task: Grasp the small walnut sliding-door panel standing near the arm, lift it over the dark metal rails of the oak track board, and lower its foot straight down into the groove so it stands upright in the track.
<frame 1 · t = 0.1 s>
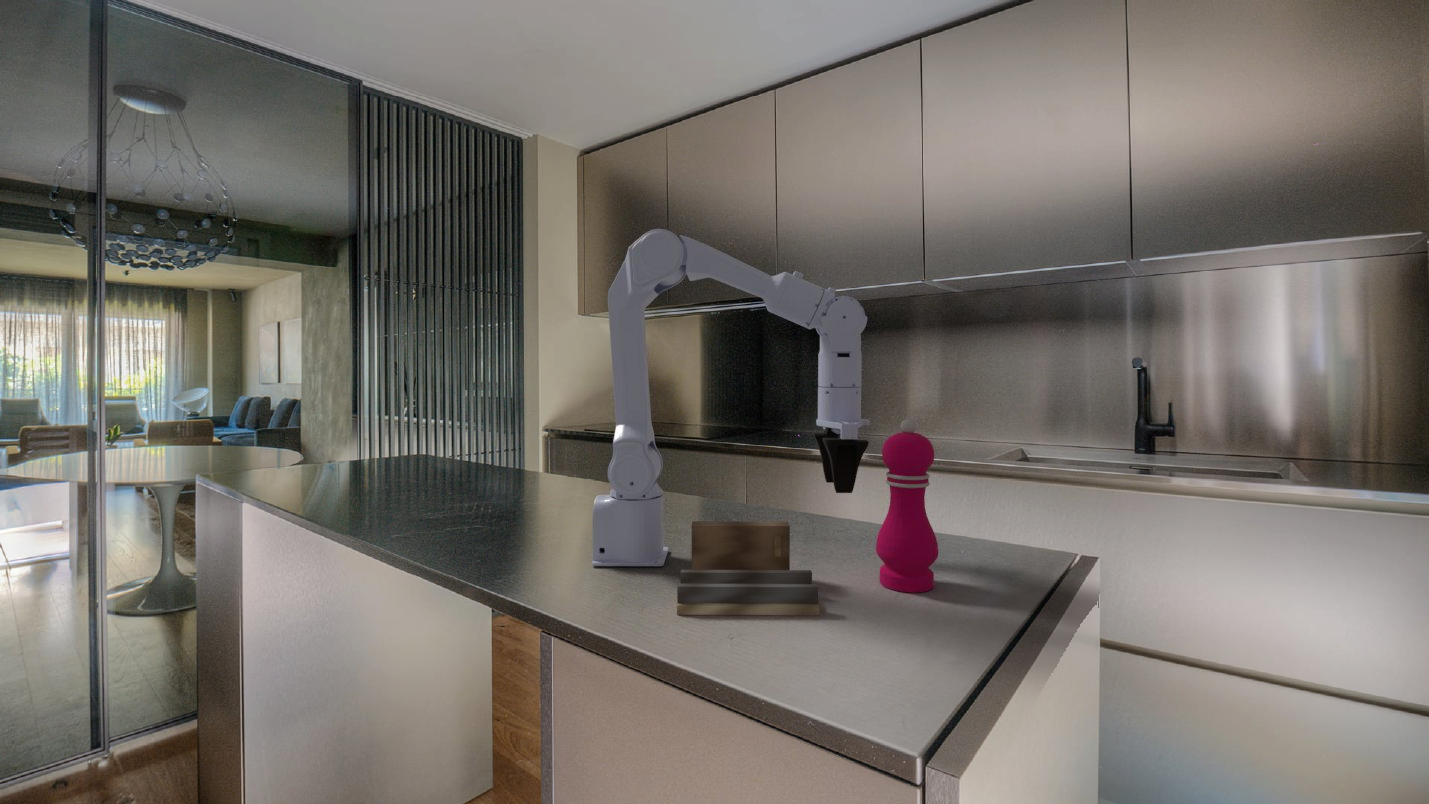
hand: (838, 487, 86), 10 cm above the counter, tool pointing down, fingers open, 7 cm apart
door panel: (740, 579, 79), on the counter
track board: (746, 602, 70), on the counter
pepper mill: (906, 585, 76), on the counter
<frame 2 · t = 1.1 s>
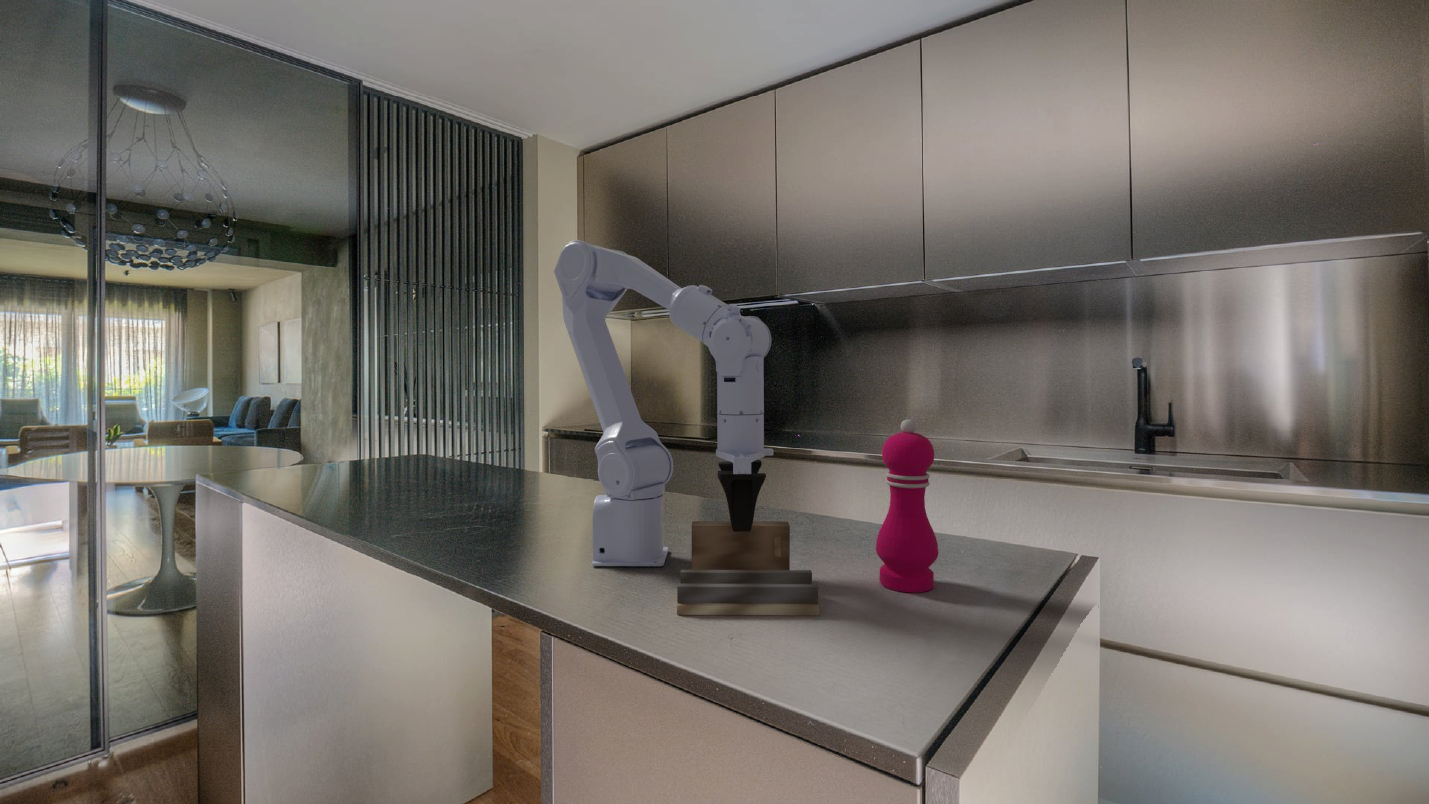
hand: (740, 523, 78), 7 cm above the counter, tool pointing down, fingers open, 7 cm apart
nothing on the counter moved.
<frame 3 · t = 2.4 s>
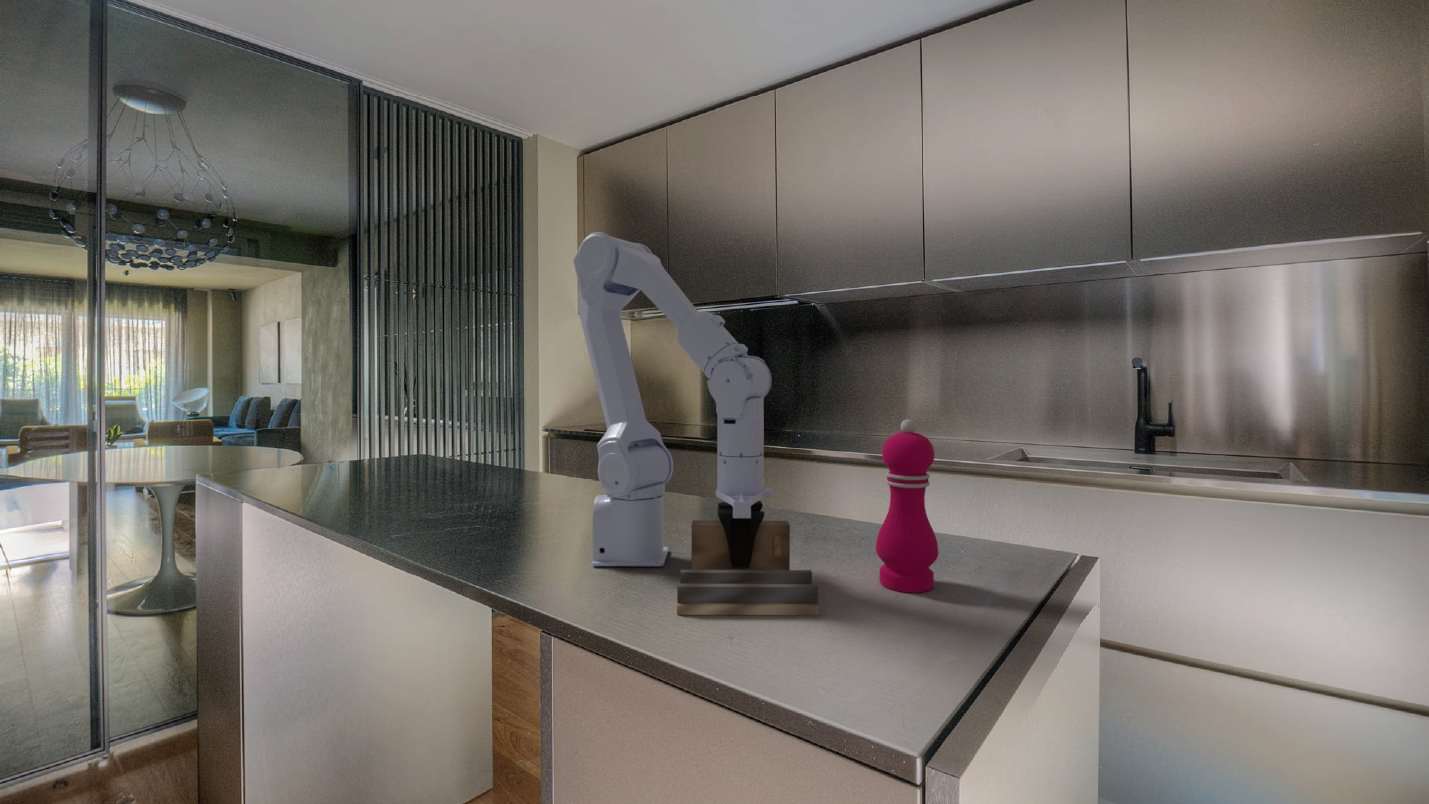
hand: (740, 563, 79), 2 cm above the counter, tool pointing down, fingers closed on door panel, 2 cm apart
door panel: (740, 578, 79), on the counter, touching gripper
everything else where it was.
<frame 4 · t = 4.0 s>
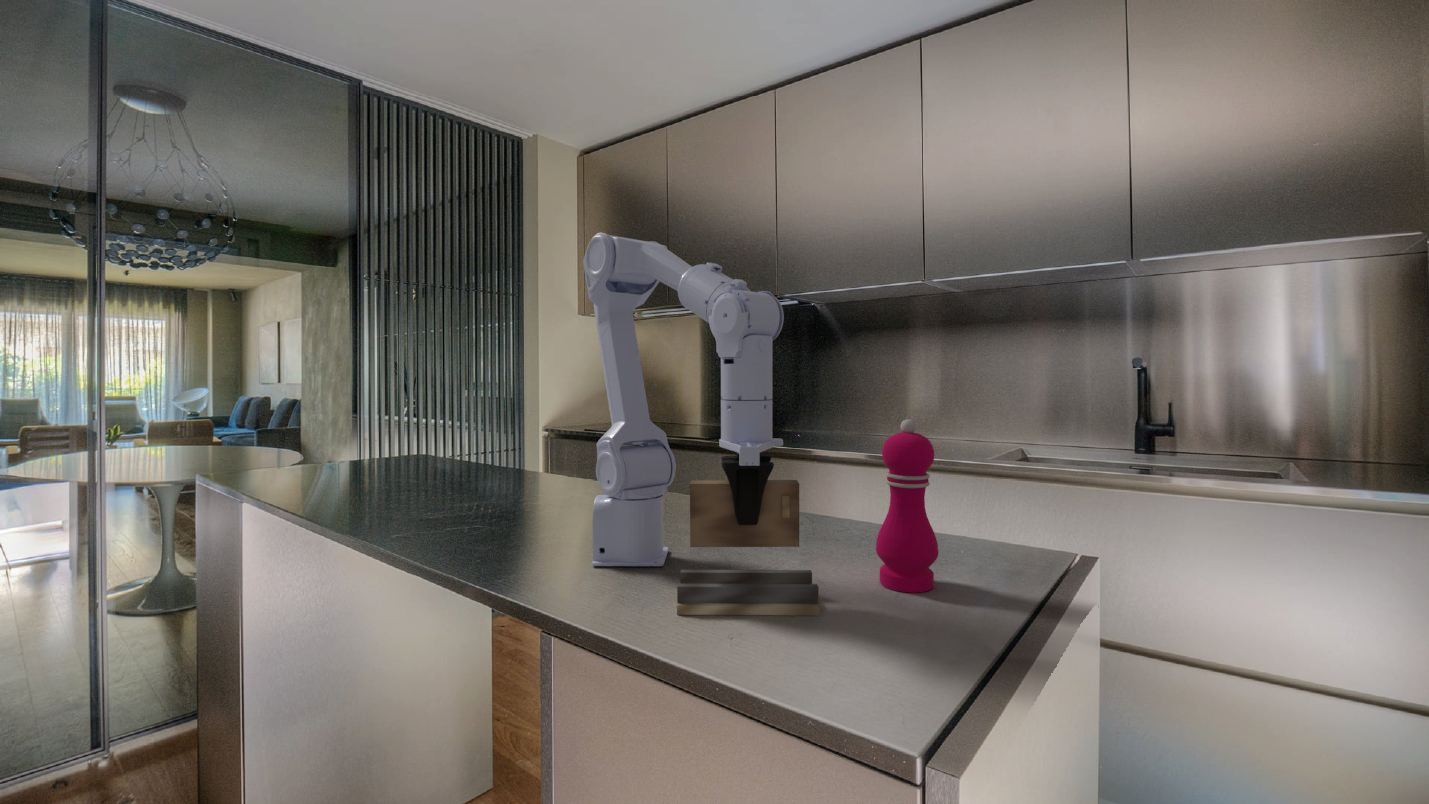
hand: (746, 521, 71), 9 cm above the counter, tool pointing down, fingers closed on door panel, 2 cm apart
door panel: (744, 544, 71), point 6 cm above the counter, touching gripper
everything else where it was.
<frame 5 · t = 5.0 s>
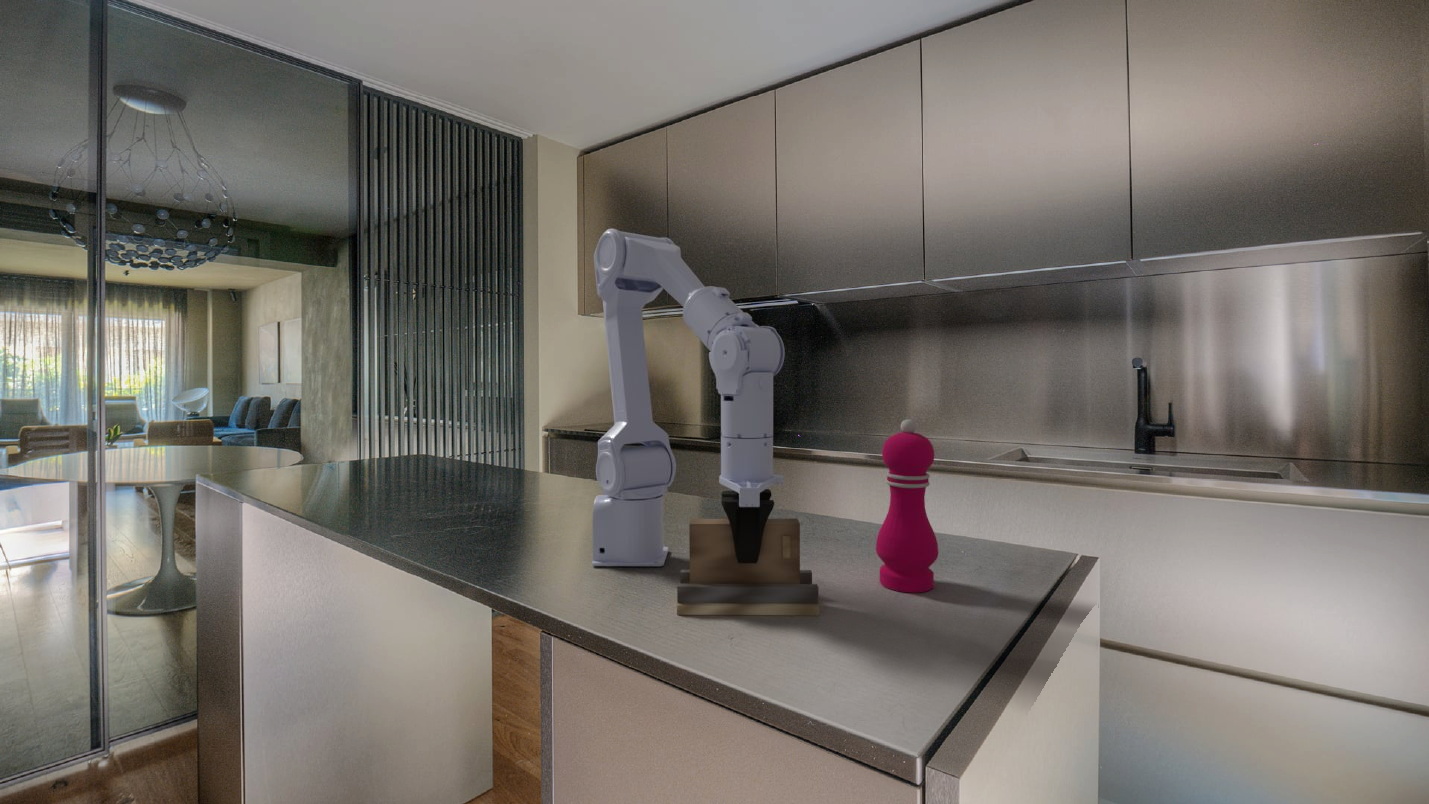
hand: (746, 558, 70), 5 cm above the counter, tool pointing down, fingers closed on door panel, 2 cm apart
door panel: (744, 583, 70), point 2 cm above the counter, touching gripper
everything else where it was.
when the fingers open (4 cm above the counter, at t = 5.6 s): door panel stays where it is, resting on track board.
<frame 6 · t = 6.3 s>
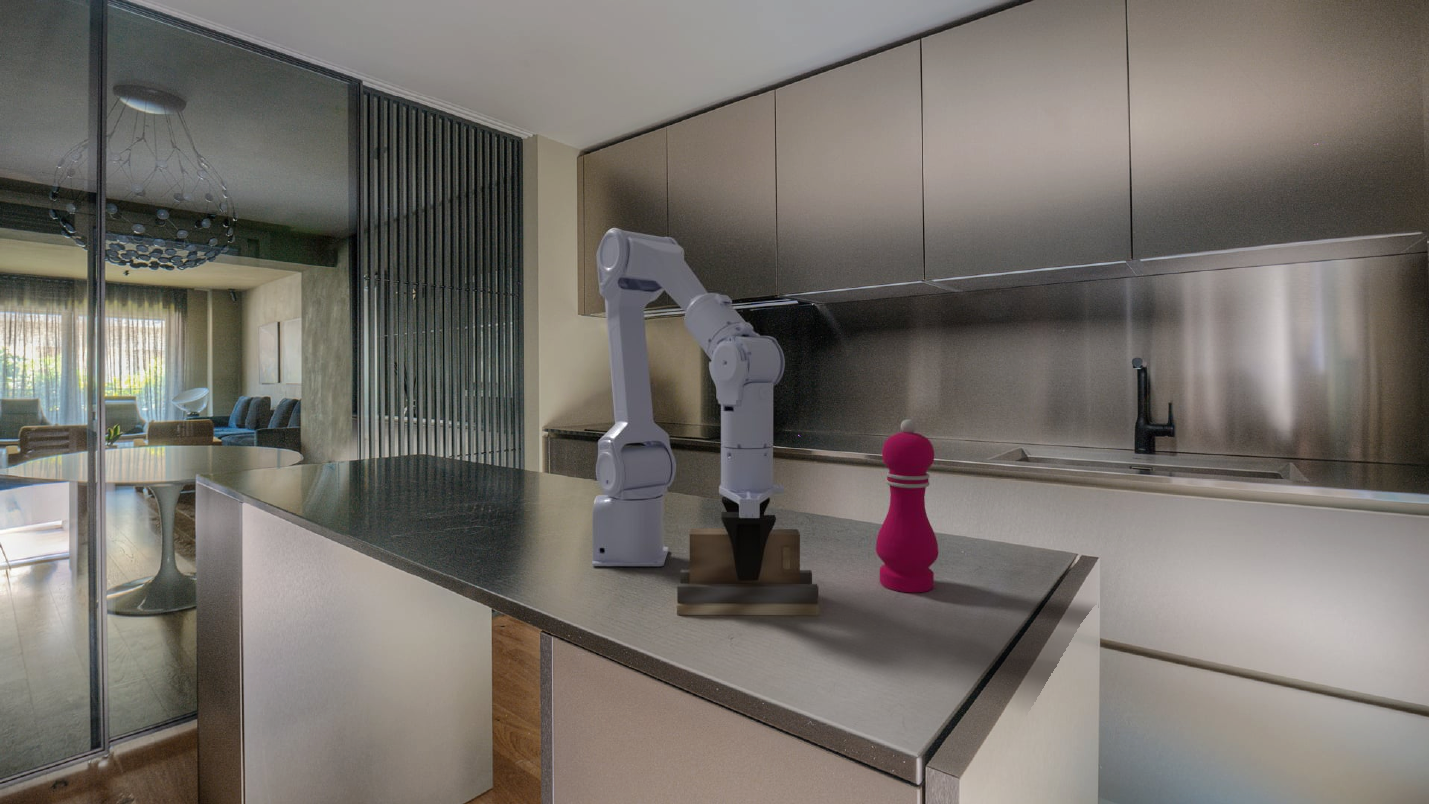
hand: (746, 568, 70), 4 cm above the counter, tool pointing down, fingers open, 7 cm apart
door panel: (744, 594, 70), point 1 cm above the counter, touching track board
everything else where it was.
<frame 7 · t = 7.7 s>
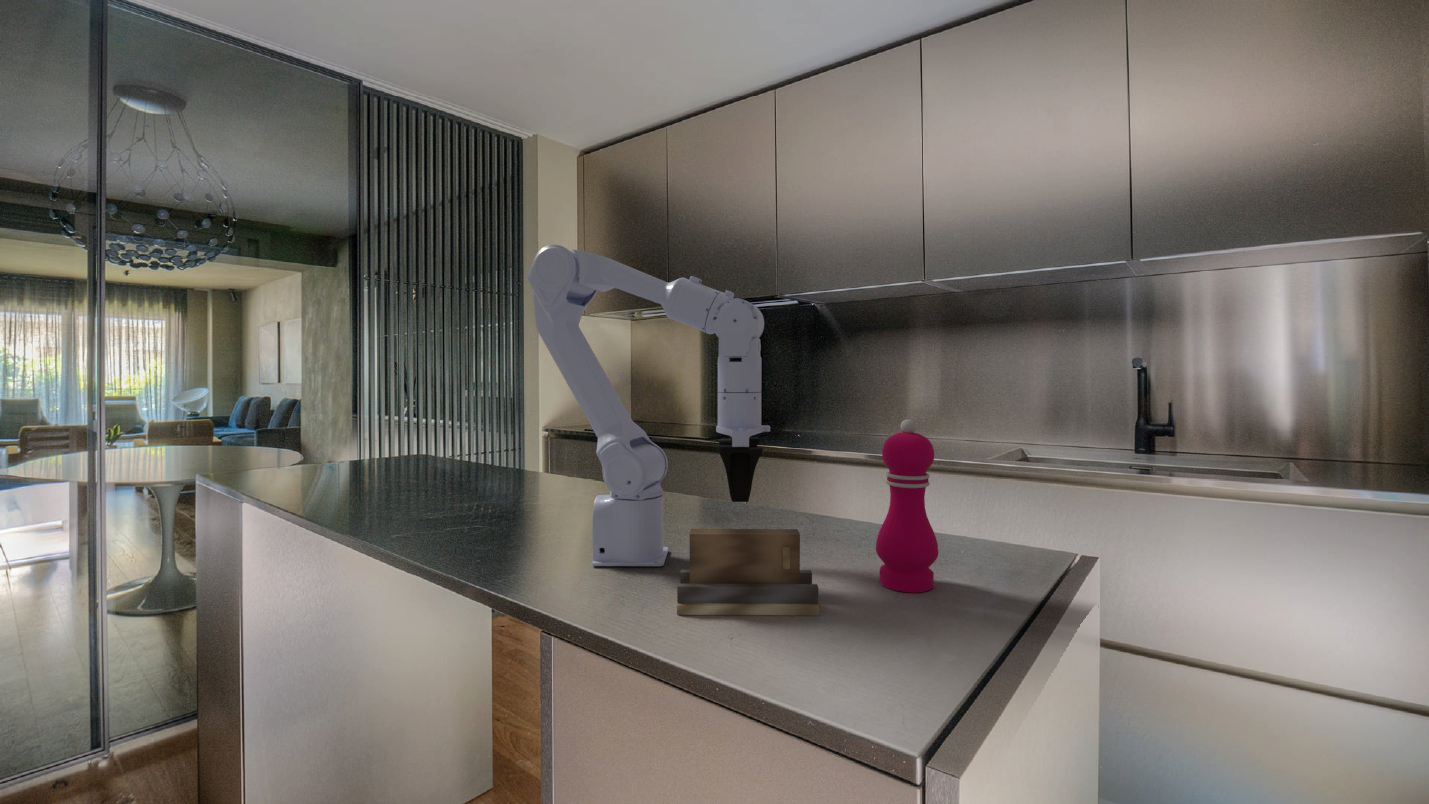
hand: (739, 495, 83), 9 cm above the counter, tool pointing down, fingers open, 7 cm apart
nothing on the counter moved.
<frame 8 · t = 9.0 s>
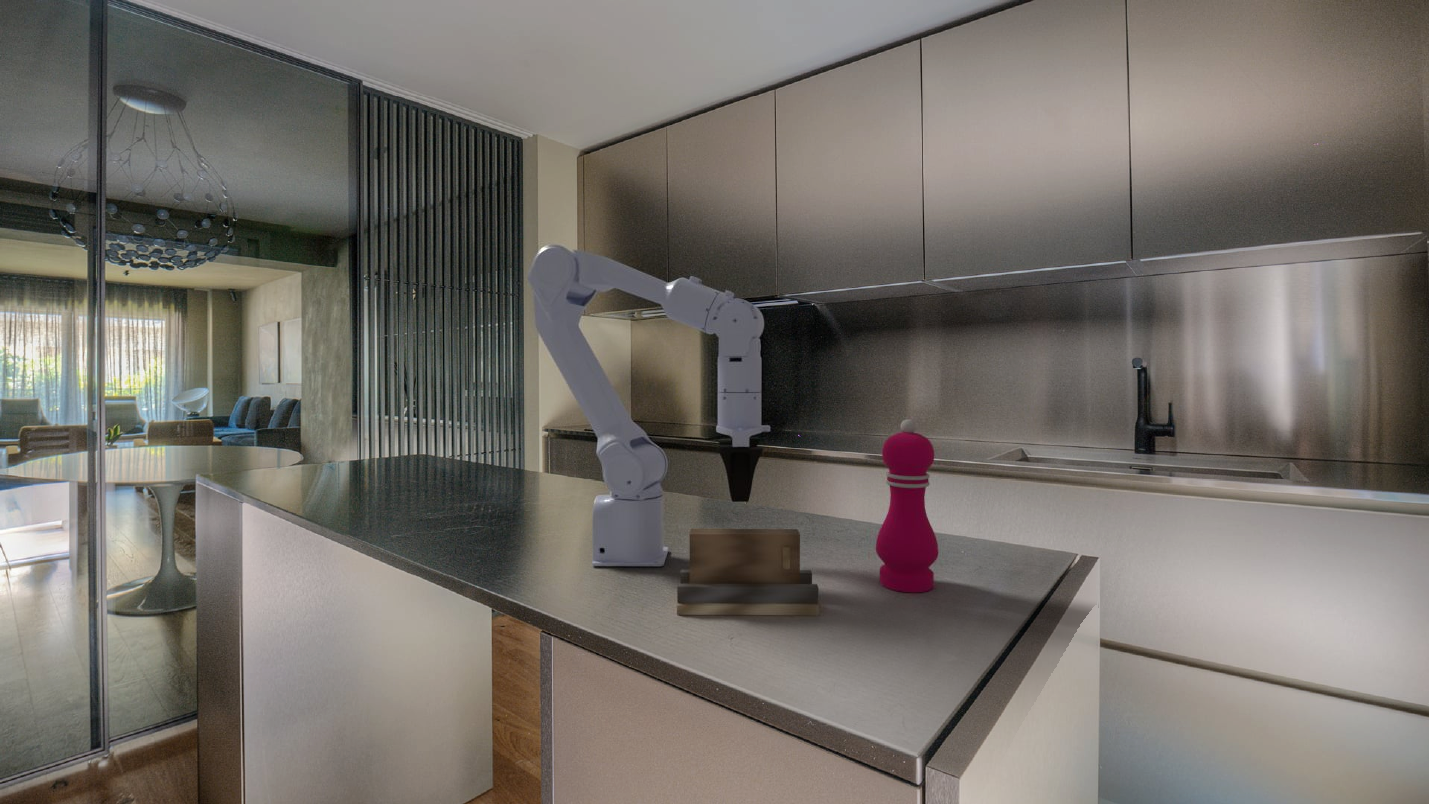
hand: (739, 495, 83), 9 cm above the counter, tool pointing down, fingers open, 7 cm apart
nothing on the counter moved.
at the end: door panel 0.3 cm off-centre on the track board, point 1.0 cm above the track board's base; door panel tilted 0°; the gripper is holding nothing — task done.
